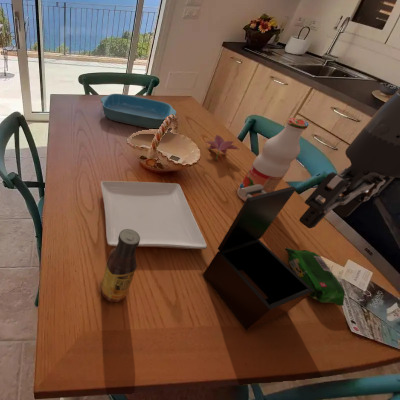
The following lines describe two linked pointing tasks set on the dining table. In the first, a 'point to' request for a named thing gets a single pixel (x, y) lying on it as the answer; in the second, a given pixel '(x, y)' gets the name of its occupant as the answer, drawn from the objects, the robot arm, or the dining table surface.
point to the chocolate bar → (254, 285)
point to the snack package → (316, 276)
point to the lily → (221, 144)
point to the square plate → (150, 214)
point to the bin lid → (255, 215)
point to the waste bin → (262, 276)
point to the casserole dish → (136, 110)
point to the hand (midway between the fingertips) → (322, 218)
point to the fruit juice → (275, 157)
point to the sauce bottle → (120, 266)
